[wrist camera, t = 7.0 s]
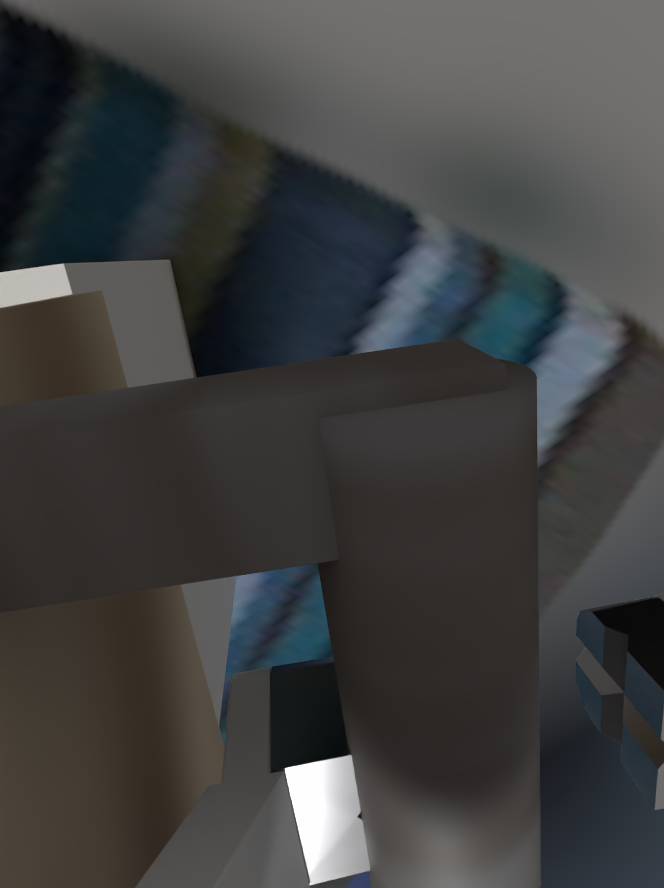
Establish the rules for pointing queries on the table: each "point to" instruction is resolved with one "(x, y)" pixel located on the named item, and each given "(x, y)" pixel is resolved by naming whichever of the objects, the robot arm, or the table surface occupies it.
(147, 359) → the carton
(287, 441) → the flap
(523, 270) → the table surface
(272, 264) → the table surface
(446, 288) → the table surface
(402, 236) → the table surface
